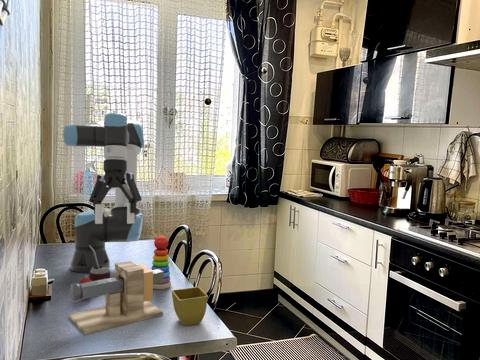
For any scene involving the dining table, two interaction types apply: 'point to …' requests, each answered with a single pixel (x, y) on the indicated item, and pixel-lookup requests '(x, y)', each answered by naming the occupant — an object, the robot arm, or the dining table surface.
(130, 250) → the dining table surface
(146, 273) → the collar
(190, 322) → the flower pot
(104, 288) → the shaft
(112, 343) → the dining table surface
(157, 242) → the stacking toy
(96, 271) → the mate gourd
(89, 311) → the stand
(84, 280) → the onion
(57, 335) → the dining table surface
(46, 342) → the dining table surface
